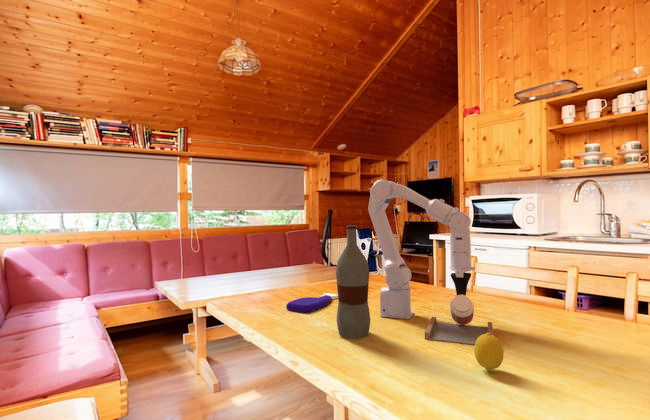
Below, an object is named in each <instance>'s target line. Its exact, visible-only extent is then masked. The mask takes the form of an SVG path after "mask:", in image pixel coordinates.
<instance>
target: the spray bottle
mask: <svg viewBox="0 0 650 420" xmlns="http://www.w3.org/2000/svg"><path fill="white" fill-rule="evenodd" d="M334 299H338V294H336V293H330V292H329V293H328V292H326V293H325V292H324V293H323V294H322V295H319V296H318V297H316V296H312V297H311V296H307V297H306V296H305V297H299V298H297V299H296V298H295V299H294V300H291V301H289V302H287V303H286V306H285V308H286V310H287V311H289V312H295V313H301V314H309V313H312V312H315V311H317V310H320V309H323V308H325V307H326V306H328V305H329V304H330V303H331V301H332V300H334Z"/></svg>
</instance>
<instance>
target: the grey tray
mask: <svg viewBox="0 0 650 420" xmlns="http://www.w3.org/2000/svg"><path fill="white" fill-rule="evenodd" d="M493 327H494V326H493V322H492V321H487V326H480V325H479V326H478V325H470V324H469V325H468V324H466V325H461V324H458V323H450V322H439V321H437V316H431V318H430V320H429V322H428V324H427V327H426V329H425V330H424V340H429V341H438V342H444V343H445V342H446V343H452V344H453V343H454V344H463V345H470V346H475V343H476V340H477V338H478V337H479V336H481V335H483V334H486V333H490V334H491V335H494V330H493V329H494V328H493Z"/></svg>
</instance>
